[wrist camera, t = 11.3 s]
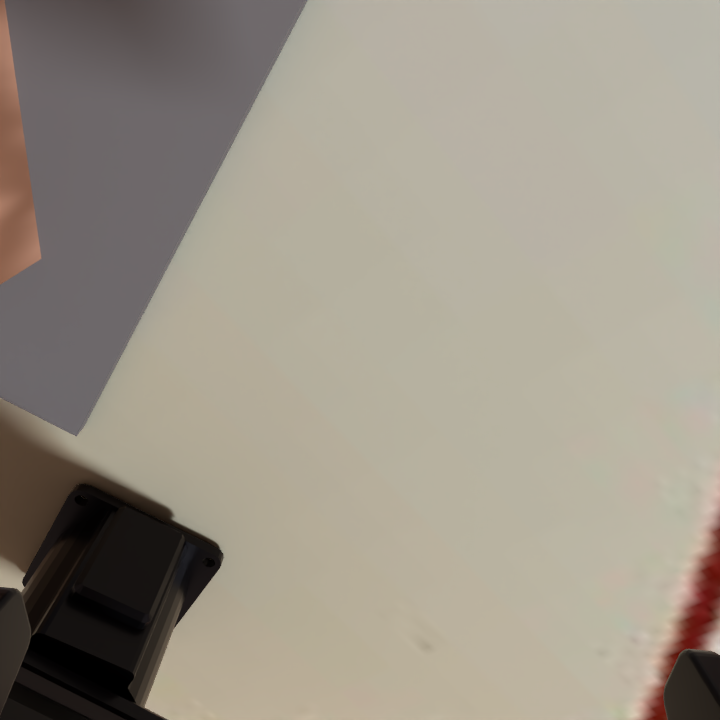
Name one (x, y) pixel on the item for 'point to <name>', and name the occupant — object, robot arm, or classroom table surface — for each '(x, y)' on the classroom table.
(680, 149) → the classroom table surface
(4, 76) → the terracotta block
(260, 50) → the charcoal mat
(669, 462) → the classroom table surface
